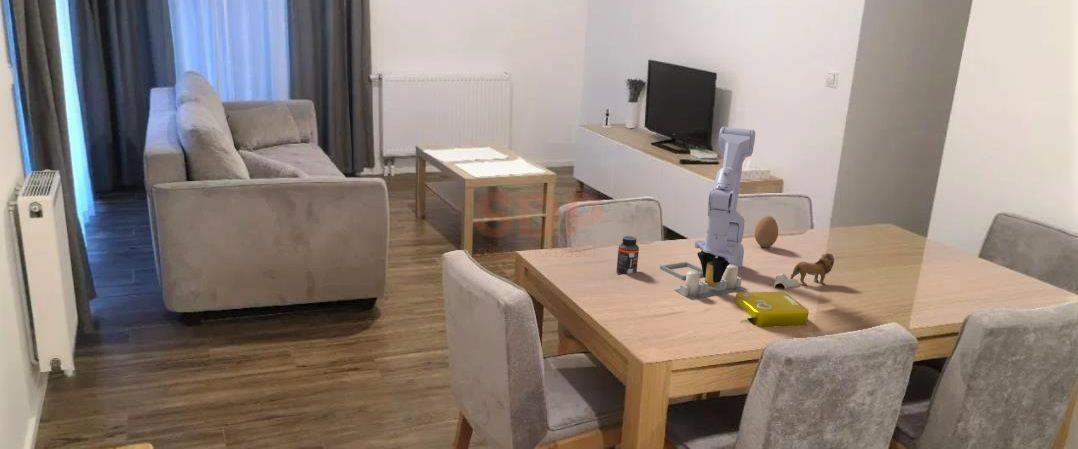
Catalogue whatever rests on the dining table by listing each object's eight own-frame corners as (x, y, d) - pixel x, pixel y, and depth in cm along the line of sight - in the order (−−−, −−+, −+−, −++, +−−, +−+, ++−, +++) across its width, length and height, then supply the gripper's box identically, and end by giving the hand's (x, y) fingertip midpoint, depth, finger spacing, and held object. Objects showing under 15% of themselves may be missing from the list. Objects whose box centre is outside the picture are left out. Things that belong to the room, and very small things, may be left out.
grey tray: (685, 269, 260) (686, 261, 259) (707, 279, 252) (708, 271, 251) (659, 273, 255) (660, 265, 254) (681, 284, 247) (682, 276, 246)
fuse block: (727, 285, 248) (728, 272, 247) (746, 294, 241) (748, 281, 240) (672, 295, 238) (673, 281, 237) (691, 305, 231) (692, 291, 230)
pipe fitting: (797, 289, 250) (774, 284, 252) (800, 277, 249) (777, 271, 251) (796, 298, 243) (772, 292, 245) (799, 285, 242) (775, 280, 243)
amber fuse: (711, 281, 241) (714, 259, 239) (720, 285, 238) (723, 263, 236) (701, 283, 239) (704, 260, 237) (710, 287, 236) (713, 264, 234)
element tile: (809, 327, 222) (812, 310, 221) (756, 328, 219) (758, 311, 217) (782, 305, 236) (784, 289, 235) (731, 306, 233) (733, 290, 232)
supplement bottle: (635, 279, 249) (638, 241, 246) (615, 276, 250) (618, 239, 247) (637, 272, 255) (640, 236, 251) (617, 270, 256) (620, 233, 253)
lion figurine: (823, 278, 259) (828, 250, 257) (835, 284, 255) (840, 255, 252) (783, 282, 254) (787, 253, 251) (794, 288, 249) (799, 258, 247)
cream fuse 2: (729, 283, 245) (732, 263, 243) (738, 287, 242) (740, 267, 240) (720, 285, 243) (722, 265, 242) (728, 289, 240) (731, 269, 239)
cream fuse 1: (691, 290, 238) (694, 269, 236) (700, 294, 235) (702, 273, 233) (681, 292, 236) (684, 271, 234) (690, 296, 233) (692, 275, 232)
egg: (780, 247, 288) (784, 216, 285) (769, 252, 282) (773, 220, 279) (759, 242, 292) (763, 211, 289) (748, 246, 287) (752, 215, 284)
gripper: (688, 227, 238) (683, 273, 242) (724, 241, 227) (718, 290, 230) (708, 224, 242) (702, 269, 246) (744, 239, 230) (738, 286, 234)
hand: (711, 279), depth 238 cm, fingers closed on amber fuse, 4 cm apart
